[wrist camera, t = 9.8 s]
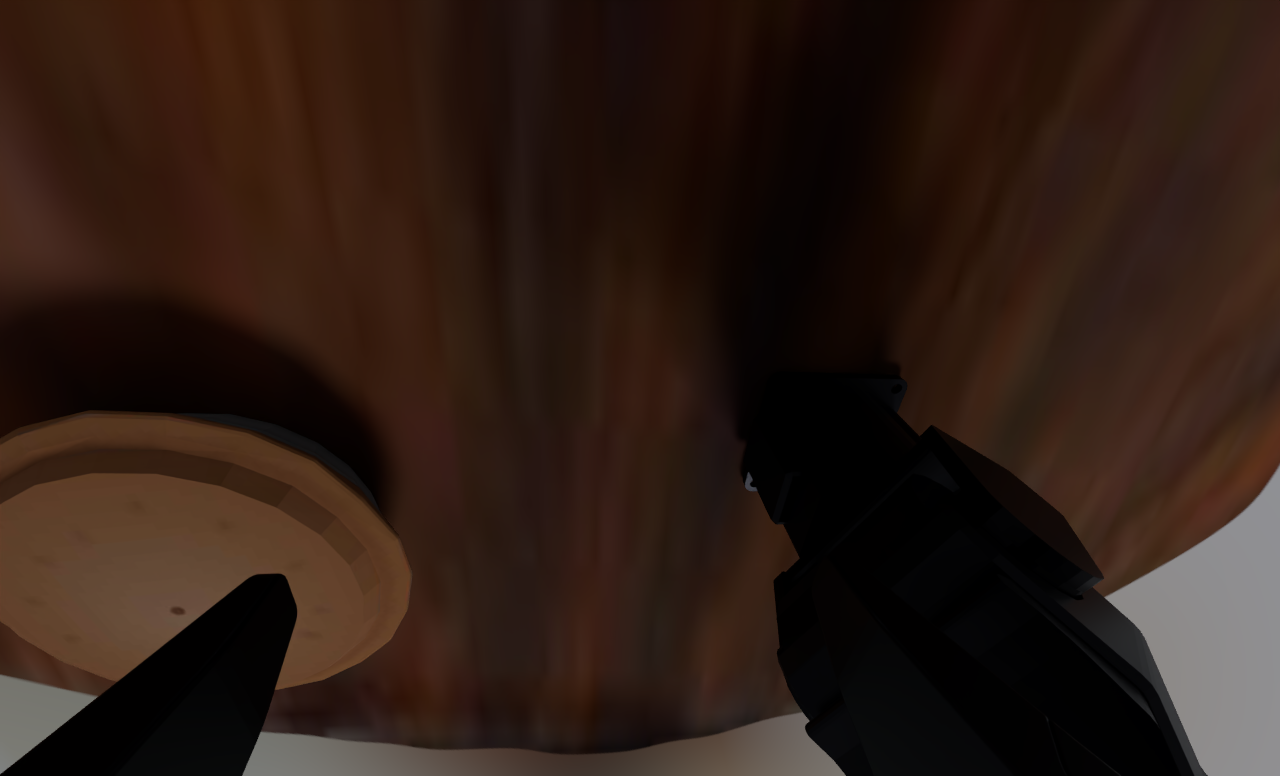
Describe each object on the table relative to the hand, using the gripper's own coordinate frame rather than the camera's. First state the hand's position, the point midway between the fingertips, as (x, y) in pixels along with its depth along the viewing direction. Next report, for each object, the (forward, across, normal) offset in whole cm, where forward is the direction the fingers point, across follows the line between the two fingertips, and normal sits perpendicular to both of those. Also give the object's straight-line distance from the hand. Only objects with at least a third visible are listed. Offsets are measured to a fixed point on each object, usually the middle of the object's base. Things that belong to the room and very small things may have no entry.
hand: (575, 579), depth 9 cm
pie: (+13, +14, +11) cm, 22 cm away
